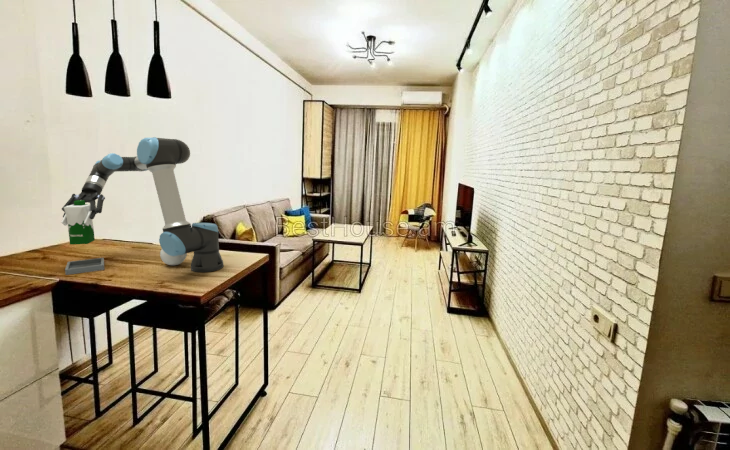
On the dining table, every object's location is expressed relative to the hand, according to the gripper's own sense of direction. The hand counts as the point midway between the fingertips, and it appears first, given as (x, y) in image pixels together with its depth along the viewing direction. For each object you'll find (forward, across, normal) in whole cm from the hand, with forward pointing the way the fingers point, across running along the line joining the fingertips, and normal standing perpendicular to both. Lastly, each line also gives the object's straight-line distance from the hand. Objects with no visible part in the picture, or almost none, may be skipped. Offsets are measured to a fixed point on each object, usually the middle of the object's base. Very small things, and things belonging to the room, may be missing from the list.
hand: (75, 224), depth 157 cm
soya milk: (+5, 0, -9) cm, 11 cm away
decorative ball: (+10, -39, -22) cm, 46 cm away
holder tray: (+14, 0, -18) cm, 23 cm away
